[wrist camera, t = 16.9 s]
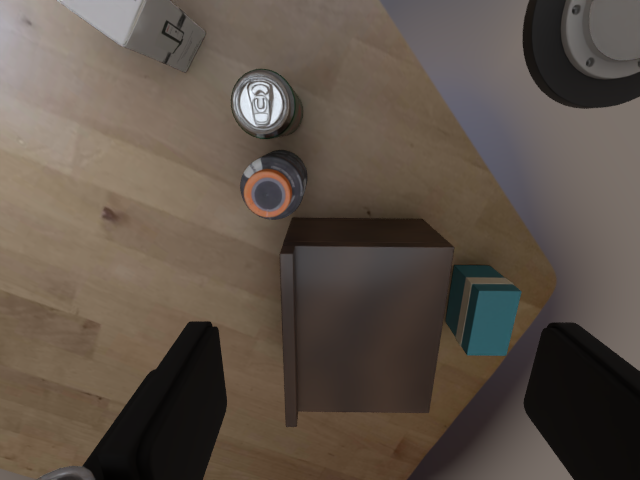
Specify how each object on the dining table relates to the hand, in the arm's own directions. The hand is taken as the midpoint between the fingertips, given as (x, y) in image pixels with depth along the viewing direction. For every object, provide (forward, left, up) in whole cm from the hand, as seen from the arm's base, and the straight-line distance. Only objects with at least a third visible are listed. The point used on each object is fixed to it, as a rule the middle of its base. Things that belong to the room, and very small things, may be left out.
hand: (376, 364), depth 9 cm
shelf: (-3, +14, -30) cm, 33 cm away
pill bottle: (+6, -1, -31) cm, 31 cm away
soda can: (+6, -8, -31) cm, 32 cm away
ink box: (+18, -16, -31) cm, 39 cm away
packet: (-18, +14, -30) cm, 38 cm away
